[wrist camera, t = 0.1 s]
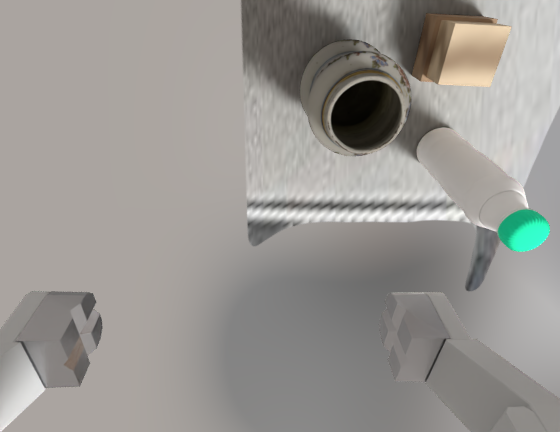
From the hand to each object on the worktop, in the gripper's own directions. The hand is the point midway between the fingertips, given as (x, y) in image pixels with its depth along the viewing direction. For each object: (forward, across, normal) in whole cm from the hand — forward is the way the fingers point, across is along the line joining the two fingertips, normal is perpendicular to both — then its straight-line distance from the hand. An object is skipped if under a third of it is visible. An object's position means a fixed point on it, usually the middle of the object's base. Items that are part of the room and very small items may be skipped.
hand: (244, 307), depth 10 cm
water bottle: (+48, -30, +14) cm, 58 cm away
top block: (+44, -27, -1) cm, 52 cm away
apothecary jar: (+48, -12, +4) cm, 50 cm away
